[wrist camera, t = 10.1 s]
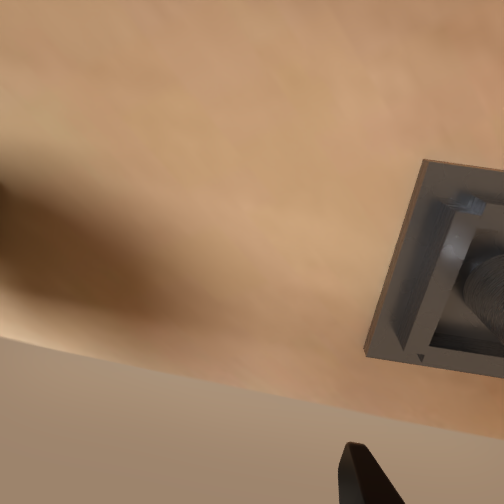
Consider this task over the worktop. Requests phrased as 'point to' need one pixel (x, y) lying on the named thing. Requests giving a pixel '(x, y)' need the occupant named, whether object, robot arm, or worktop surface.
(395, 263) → the block
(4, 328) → the worktop surface
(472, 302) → the shiny tapered metal piece
